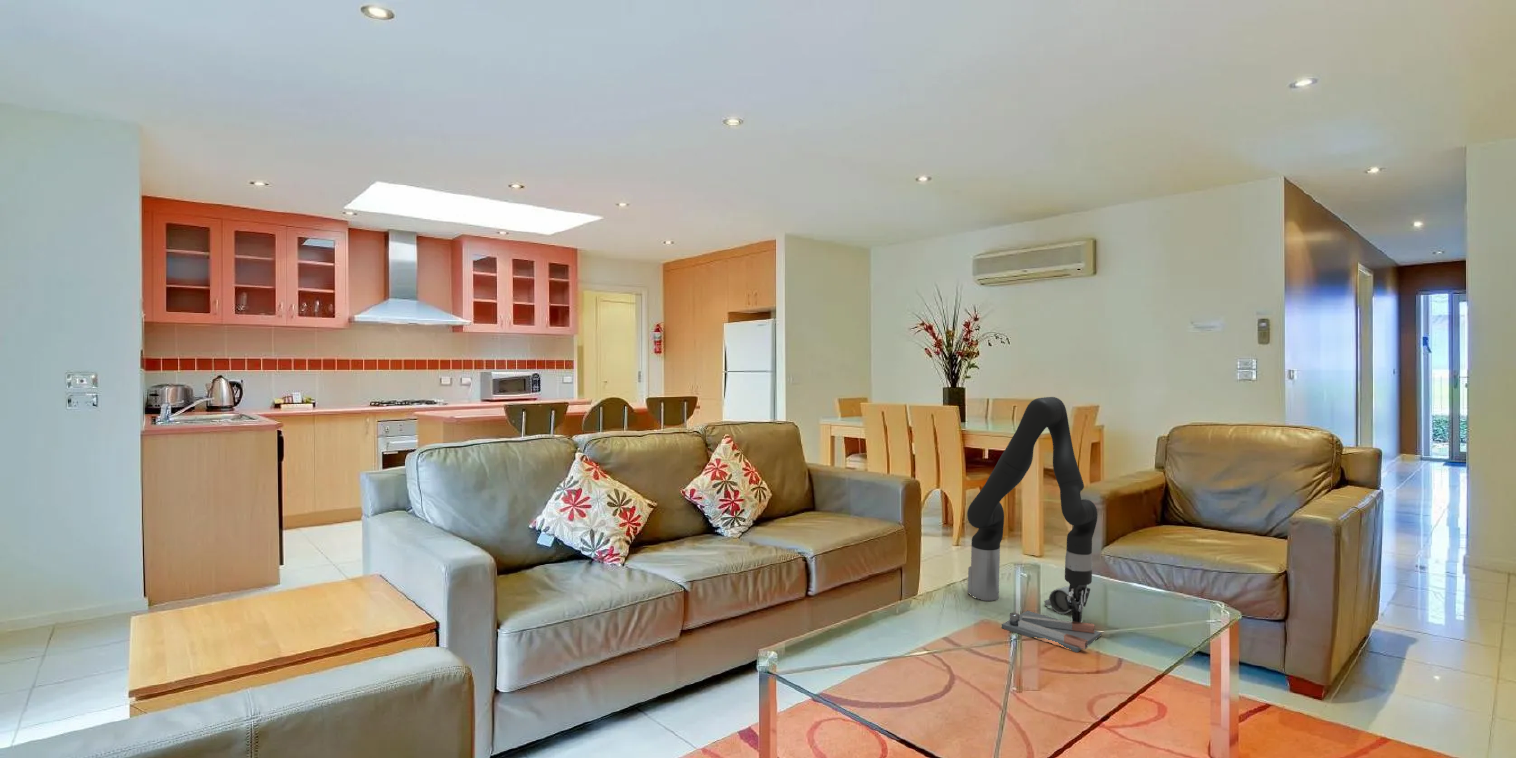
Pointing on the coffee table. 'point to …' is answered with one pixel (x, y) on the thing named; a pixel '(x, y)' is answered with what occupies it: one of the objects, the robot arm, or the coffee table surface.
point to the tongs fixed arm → (1048, 632)
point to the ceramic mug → (1059, 600)
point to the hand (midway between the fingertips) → (1076, 622)
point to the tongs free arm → (1060, 624)
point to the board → (1083, 635)
